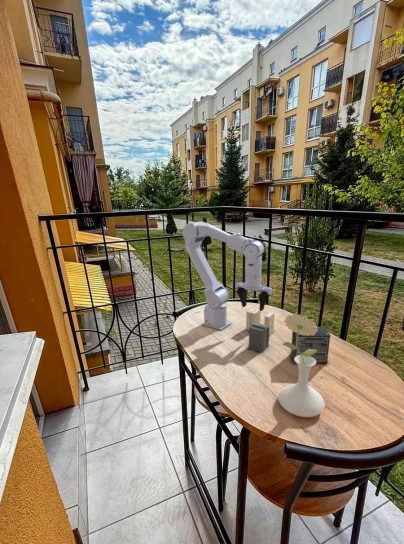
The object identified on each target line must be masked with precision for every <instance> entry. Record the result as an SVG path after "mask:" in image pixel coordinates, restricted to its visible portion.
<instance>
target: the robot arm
mask: <svg viewBox="0 0 404 544" xmlns="http://www.w3.org/2000/svg"><path fill="white" fill-rule="evenodd" d="M181 235H182V237H183V239H184V244H185V249H186V252H187V254H188V256H189V258H190V259H191V262H192V264H193V265H194V268H195V270H196V271H197V273H198V275H199V277H200V279H201V281H202V284H203V285H204V287H205V289H204V296H205V300H206V304H205V305H204V308H203V321H204V322H203V324H202V326H206V327H209V328H213V329H216V330H219V331H222V330H224V329H225V328H226V327H228V326H229V325H231V323H232V322H231V321H228V304H227V302H228V300H229V299H230V293H229V290H228V289H227V288H226V287H225V286H224V284H223V283H222V282H220V281H218V279H217V277H216V275H215V274H214V271H213V270H212V268H211V266H210V264H209V262H208V260H207V258H206V256H205V254H204V252H203V250H202V248H201V246H202V243H203V241H204V240H205V238H206V237H210V238H213V239H216V240H217V241H218V240H219V241H220V242H223V243H225V244H226V245H227V247H228V248H229V249H231V250H233V251H236V252H237V253H240V254H242V255H243V256H244V257H245V282H238V281H237V282H236V283H235V289H237V290H236V294H237V295H238V297H239V299H240V302H241V303H240V304H241V307H242V308H245V307H247V303H248V300H247V299H248V291H253V292H258V293H259V294H258V299H259V300H258V301H259V309H260V311H261V312H262V311H264V310H265V306H266V303H267V300H268V299H269V297H270V295H271V294H272V293H273V287H269V286H266V285H263V284H262V264H263V260H262V259H263V254H264V252H265V246H264V244H263V242H261V241H260V240H258V239H257V240H253V238H251V237H250V238H247V237H245V236H243V235H242V233H240V232H237V233H236V232H233V233H232V234H230V233H228V232H226V231H224V230H222V229H220V228H218V227H216V226H214V225H213V224H210V223H209V222H205V221H203V220H199V221H197V222H188V223H186V224H185V225H184V227H183V230H182V234H181Z"/></svg>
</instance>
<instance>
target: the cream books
mask: <svg viewBox="0 0 404 544" xmlns="http://www.w3.org/2000/svg"><path fill="white" fill-rule="evenodd" d="M245 313H246V314H245V315H246V319H245V321H246V323H245V330H247V331H249V327H251V326H252V324H253V323H259V324H261V313H262V311H260V308H255V307H251V308H250V309H248V310H247V311H246V312H245Z"/></svg>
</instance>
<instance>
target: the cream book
mask: <svg viewBox="0 0 404 544" xmlns="http://www.w3.org/2000/svg"><path fill="white" fill-rule="evenodd" d="M263 322H264V323H263V325H267V326H270V327H269V336H270V335H271V334H272V333H273V332H274V329H275V312H272V311H270V312H268V313H267V314H265V315H264V321H263Z"/></svg>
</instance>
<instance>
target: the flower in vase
mask: <svg viewBox="0 0 404 544" xmlns="http://www.w3.org/2000/svg"><path fill="white" fill-rule="evenodd" d="M283 322H284V323H285V327H287V328H288V330H291V331H292V332H297V338H296V346H295V345H293V344H292V342H289V341H285V342H283V343H282V344H281V345H282V346H285V347H287V348H289V349H290V350H291V349H292V350H295V349H296V348H297V350H298V352H299V354H300V355H298V356H296V357H295V359H294V360H295V362H296V363H295V364H296V365H297V367H298V368H297V369H298V378H297V379H298V380H297V382H296V383H292V384H289V385H285V386H284V387H283V388H281V390H280V391H279V393H278V397H277V399H278V402H279V404H280V405H281V407H282V408H283V409H284V410H285V411H286V412H287V413H289V414H291V415H294V416H297V417H301V418H314V417H316V416H318V415H320V414H321V413H323V411H324V410H325V407H326V405H325V400H324V398H323V396H322V395H321V394H320V392H318V390H316V389H315V388H313V387H312V386H310V385H309V376H310V372H311V369H312V368H313V367H314V366H315V365H316V360H315V359H314V358H313V357H311V355H313V354H315V353H316V352H317V350H313V349H308V350H306V351H305V352H303V353H302V354H301V353H300V351H299V349H298V347H297V340H298V335H299V334H301V335H304V336H305V335H307V336H309V335H315V333H316V332H317V331H318V330H317V327H318V326H316V325H317V323H316V322H314V320H312V319H309V318H308V316H307V315H301V314H300V313H299V314H296V313H292V314H288V315H286V316H285V318H284V320H283Z"/></svg>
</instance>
